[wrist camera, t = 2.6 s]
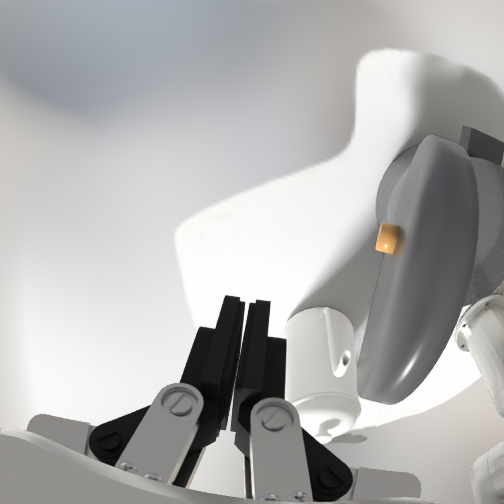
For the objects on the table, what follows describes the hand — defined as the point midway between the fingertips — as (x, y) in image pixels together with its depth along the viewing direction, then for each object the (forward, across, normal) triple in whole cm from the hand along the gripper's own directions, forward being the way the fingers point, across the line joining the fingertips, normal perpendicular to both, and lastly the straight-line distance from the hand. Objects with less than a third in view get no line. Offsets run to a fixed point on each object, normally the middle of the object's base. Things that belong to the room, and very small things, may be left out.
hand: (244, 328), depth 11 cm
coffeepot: (+26, -10, +22) cm, 35 cm away
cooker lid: (+7, -10, 0) cm, 12 cm away
